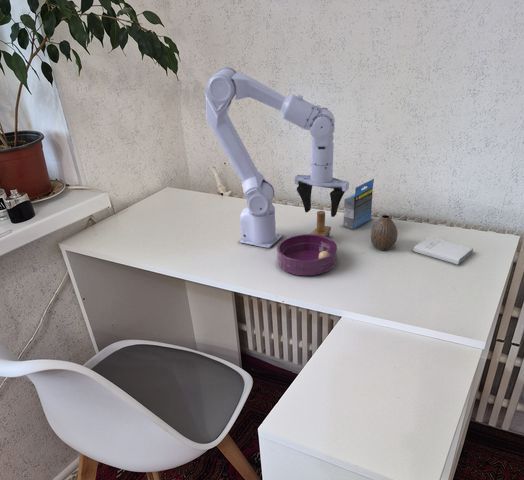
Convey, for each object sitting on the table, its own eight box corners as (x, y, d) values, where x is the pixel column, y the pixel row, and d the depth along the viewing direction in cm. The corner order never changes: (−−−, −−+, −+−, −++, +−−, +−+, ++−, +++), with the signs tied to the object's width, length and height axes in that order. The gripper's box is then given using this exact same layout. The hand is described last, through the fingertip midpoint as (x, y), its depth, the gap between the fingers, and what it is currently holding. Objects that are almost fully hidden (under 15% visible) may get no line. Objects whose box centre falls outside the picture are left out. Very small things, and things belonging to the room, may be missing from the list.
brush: (310, 244, 140) (310, 215, 135) (318, 235, 145) (319, 207, 140) (322, 246, 139) (322, 217, 134) (330, 237, 144) (331, 208, 138)
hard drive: (457, 265, 127) (412, 252, 134) (472, 253, 131) (428, 240, 138) (458, 260, 126) (413, 246, 133) (473, 247, 130) (429, 235, 137)
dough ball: (320, 251, 128) (330, 258, 128) (323, 246, 130) (333, 253, 130) (315, 260, 130) (324, 267, 130) (318, 255, 132) (327, 261, 132)
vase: (396, 253, 134) (399, 222, 128) (369, 252, 135) (371, 221, 130) (396, 242, 139) (399, 211, 133) (370, 241, 140) (372, 210, 135)
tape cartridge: (360, 216, 153) (363, 175, 146) (371, 219, 151) (374, 178, 144) (342, 226, 149) (344, 184, 141) (353, 229, 146) (355, 187, 139)
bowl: (267, 270, 131) (266, 254, 128) (293, 245, 141) (293, 230, 138) (321, 282, 124) (321, 266, 121) (345, 255, 134) (346, 240, 132)
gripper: (354, 160, 128) (351, 211, 137) (302, 154, 134) (302, 203, 143) (343, 169, 124) (341, 221, 132) (290, 162, 130) (291, 213, 138)
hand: (320, 213), depth 137 cm, fingers open, 7 cm apart
